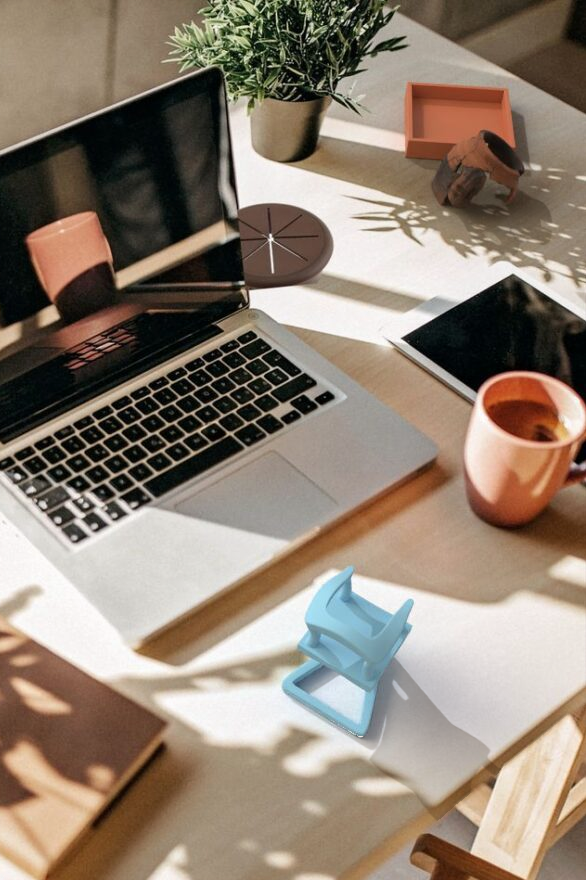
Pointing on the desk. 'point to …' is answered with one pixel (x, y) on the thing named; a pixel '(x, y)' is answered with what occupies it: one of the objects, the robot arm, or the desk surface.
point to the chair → (348, 644)
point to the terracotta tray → (453, 117)
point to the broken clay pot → (476, 169)
